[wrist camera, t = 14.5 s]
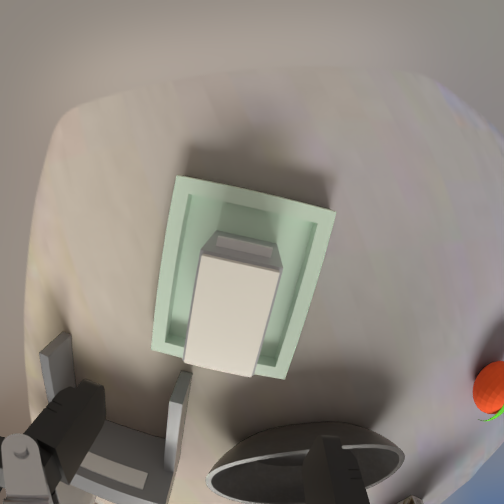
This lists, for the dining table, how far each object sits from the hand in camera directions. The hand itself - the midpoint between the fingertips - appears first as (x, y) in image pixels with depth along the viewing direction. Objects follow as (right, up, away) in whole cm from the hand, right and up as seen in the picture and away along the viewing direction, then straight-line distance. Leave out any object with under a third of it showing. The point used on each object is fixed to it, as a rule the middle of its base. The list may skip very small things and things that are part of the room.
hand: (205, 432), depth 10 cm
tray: (0, +4, +17) cm, 18 cm away
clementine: (+32, -10, +20) cm, 39 cm away
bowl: (+8, -16, +22) cm, 29 cm away
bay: (-13, -11, +21) cm, 27 cm away
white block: (0, +4, +16) cm, 17 cm away
